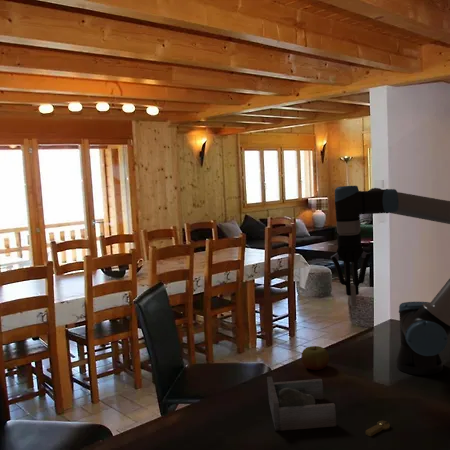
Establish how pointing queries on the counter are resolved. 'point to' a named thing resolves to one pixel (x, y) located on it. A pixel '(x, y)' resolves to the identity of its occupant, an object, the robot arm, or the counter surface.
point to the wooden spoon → (378, 428)
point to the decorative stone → (294, 398)
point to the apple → (315, 358)
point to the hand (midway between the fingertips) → (353, 304)
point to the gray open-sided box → (300, 414)
